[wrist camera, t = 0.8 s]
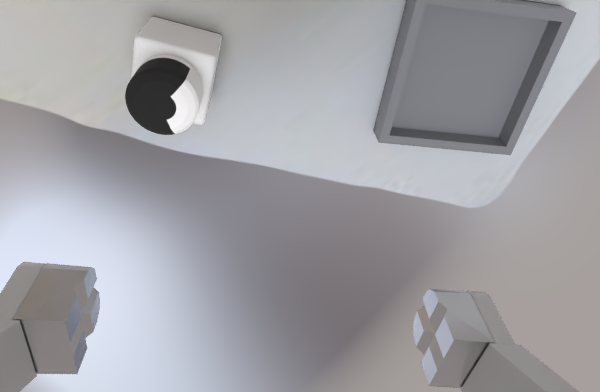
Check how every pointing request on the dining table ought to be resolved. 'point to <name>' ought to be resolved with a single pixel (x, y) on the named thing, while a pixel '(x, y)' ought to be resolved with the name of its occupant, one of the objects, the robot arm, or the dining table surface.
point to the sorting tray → (468, 72)
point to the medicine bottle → (172, 76)
